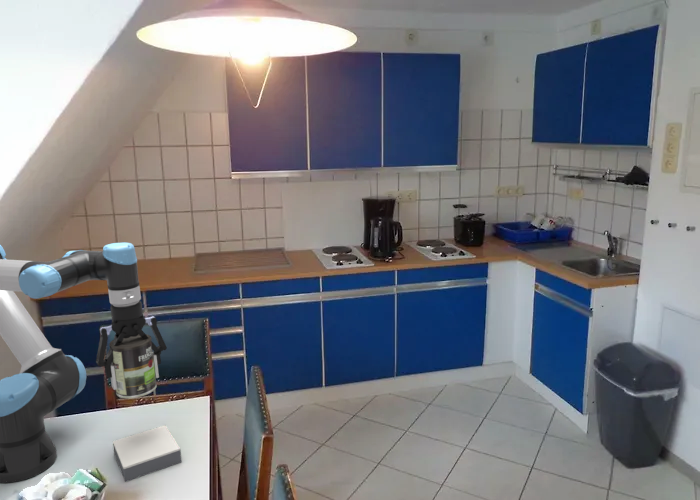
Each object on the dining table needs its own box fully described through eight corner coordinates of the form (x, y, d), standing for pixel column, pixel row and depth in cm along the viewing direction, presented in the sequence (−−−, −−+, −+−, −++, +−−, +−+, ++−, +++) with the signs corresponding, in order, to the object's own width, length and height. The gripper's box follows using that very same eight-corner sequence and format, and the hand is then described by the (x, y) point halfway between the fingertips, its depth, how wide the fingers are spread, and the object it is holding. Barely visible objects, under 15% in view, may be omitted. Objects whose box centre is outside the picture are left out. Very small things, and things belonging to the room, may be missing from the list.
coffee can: (164, 381, 145) (158, 333, 142) (143, 399, 135) (137, 348, 132) (129, 379, 147) (123, 332, 144) (107, 397, 137) (100, 347, 134)
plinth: (114, 454, 142) (112, 441, 141) (166, 437, 149) (165, 424, 149) (125, 481, 130) (123, 467, 130) (181, 461, 138) (180, 448, 137)
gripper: (80, 315, 126) (92, 400, 131) (174, 297, 139) (182, 374, 144) (75, 308, 132) (86, 389, 137) (165, 291, 145) (173, 365, 150)
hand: (135, 381), depth 140 cm, fingers closed on coffee can, 10 cm apart
